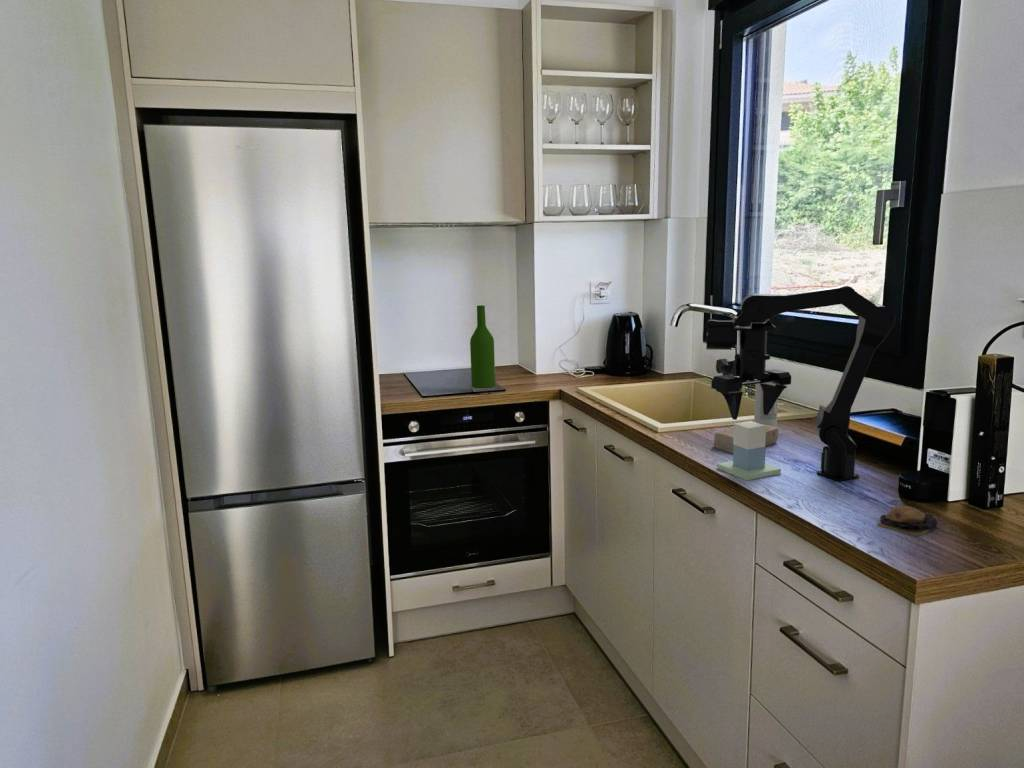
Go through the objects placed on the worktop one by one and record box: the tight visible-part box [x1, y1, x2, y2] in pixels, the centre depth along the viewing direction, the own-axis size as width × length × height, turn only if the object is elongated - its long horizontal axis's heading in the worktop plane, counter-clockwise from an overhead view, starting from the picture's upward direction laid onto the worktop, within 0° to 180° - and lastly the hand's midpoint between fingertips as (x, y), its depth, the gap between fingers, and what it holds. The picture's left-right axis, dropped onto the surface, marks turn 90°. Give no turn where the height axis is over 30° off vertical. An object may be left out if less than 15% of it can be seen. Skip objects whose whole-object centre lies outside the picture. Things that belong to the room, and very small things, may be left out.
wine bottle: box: [469, 304, 496, 388], centre depth 262 cm, size 9×9×32 cm
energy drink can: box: [753, 383, 779, 428], centre depth 199 cm, size 6×6×15 cm
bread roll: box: [876, 505, 938, 537], centre depth 132 cm, size 11×8×4 cm
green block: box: [716, 460, 782, 481], centre depth 165 cm, size 10×10×1 cm
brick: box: [713, 424, 779, 454], centre depth 186 cm, size 17×8×5 cm, turn 123°
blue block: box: [732, 445, 767, 471], centre depth 164 cm, size 5×5×5 cm
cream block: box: [733, 420, 766, 450], centre depth 163 cm, size 5×5×5 cm
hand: (750, 417), depth 162 cm, fingers open, 9 cm apart
